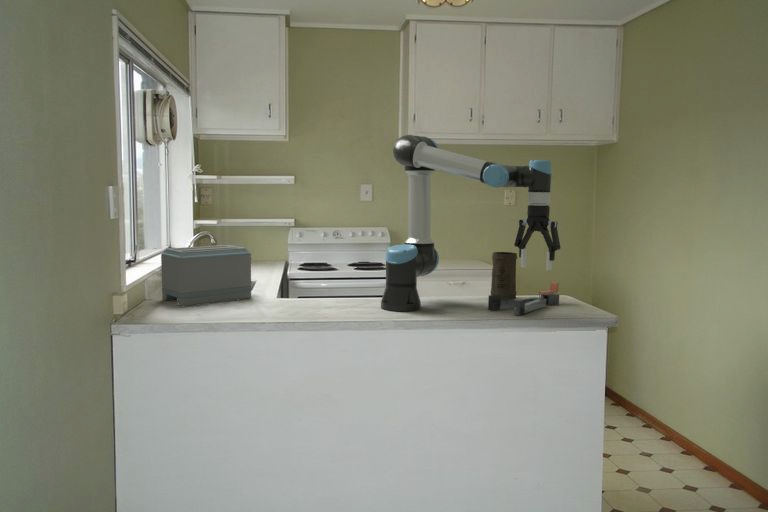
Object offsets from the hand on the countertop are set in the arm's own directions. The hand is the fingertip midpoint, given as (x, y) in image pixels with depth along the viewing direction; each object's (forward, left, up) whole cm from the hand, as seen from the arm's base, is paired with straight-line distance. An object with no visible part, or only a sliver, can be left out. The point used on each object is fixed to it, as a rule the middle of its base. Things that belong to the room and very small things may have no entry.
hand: (536, 268), depth 223 cm
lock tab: (+5, +27, -13) cm, 30 cm away
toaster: (-125, -1, -18) cm, 126 cm away
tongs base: (-3, +18, -18) cm, 25 cm away
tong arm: (-1, +11, -17) cm, 21 cm away
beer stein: (-12, +32, -18) cm, 39 cm away
